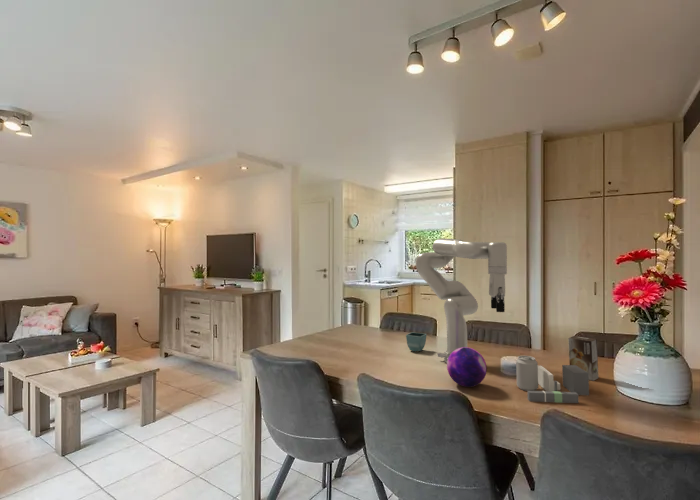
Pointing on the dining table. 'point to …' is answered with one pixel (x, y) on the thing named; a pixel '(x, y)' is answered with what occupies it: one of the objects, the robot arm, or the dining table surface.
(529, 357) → the can
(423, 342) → the flower pot
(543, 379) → the plate
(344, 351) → the dining table surface
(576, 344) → the coffee box
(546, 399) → the frame
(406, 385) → the dining table surface
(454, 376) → the decorative orb
